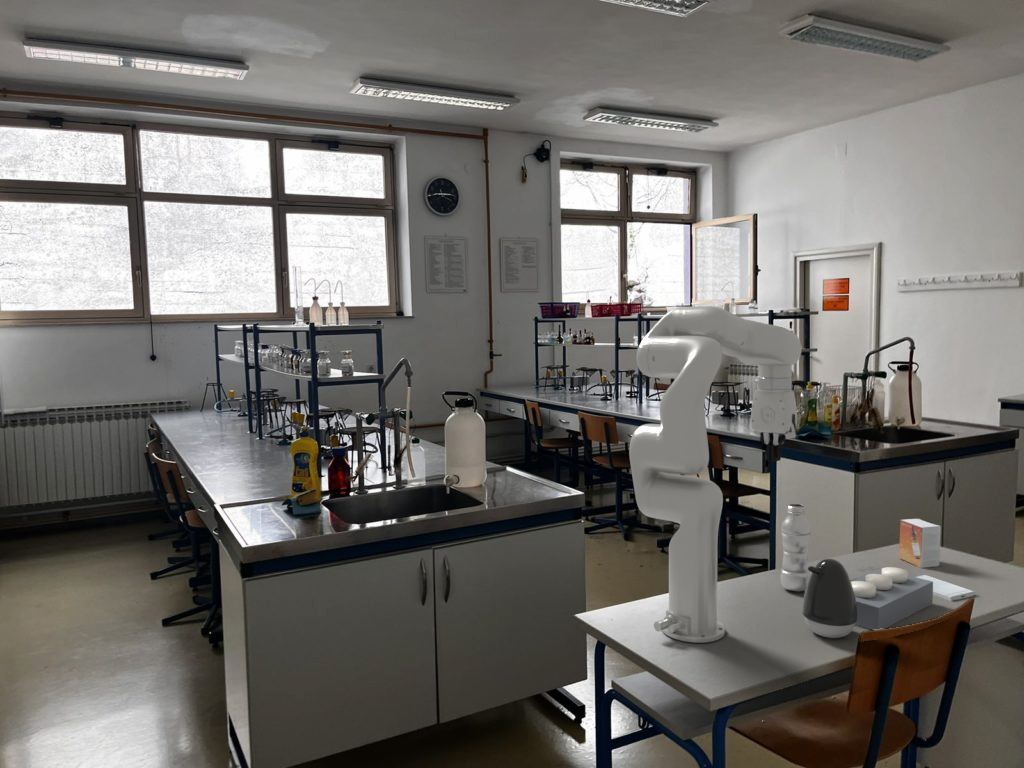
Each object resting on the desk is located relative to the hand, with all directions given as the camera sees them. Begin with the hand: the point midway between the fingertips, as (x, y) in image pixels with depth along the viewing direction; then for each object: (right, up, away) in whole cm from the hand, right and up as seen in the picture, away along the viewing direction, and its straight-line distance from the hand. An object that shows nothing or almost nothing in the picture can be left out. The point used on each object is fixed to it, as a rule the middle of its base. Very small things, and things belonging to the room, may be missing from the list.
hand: (773, 460), depth 182 cm
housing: (+16, -30, -18) cm, 39 cm away
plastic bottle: (+3, -30, -6) cm, 31 cm away
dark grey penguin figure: (0, -32, -30) cm, 44 cm away
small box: (+42, -28, +13) cm, 52 cm away
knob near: (+11, -30, -23) cm, 39 cm away
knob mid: (+16, -29, -18) cm, 38 cm away
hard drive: (+36, -30, -7) cm, 47 cm away
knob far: (+22, -29, -14) cm, 39 cm away
